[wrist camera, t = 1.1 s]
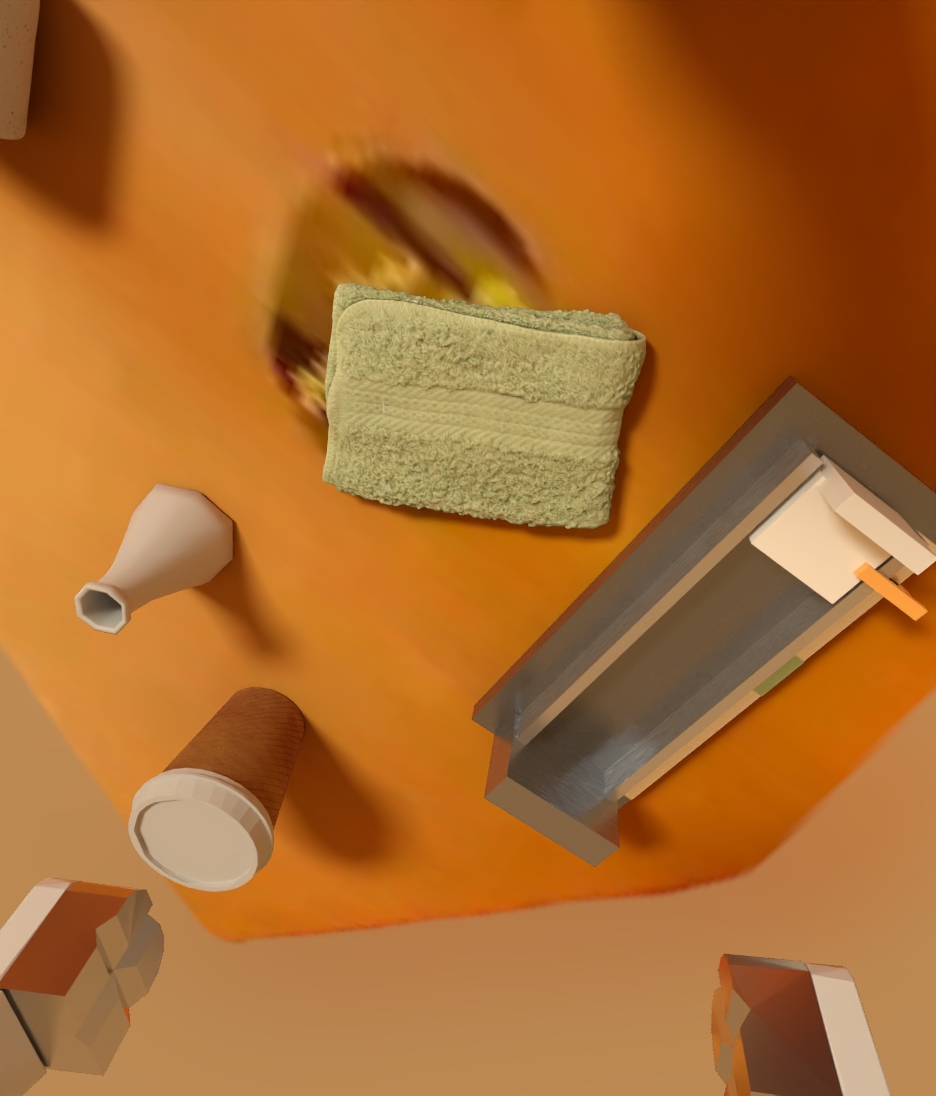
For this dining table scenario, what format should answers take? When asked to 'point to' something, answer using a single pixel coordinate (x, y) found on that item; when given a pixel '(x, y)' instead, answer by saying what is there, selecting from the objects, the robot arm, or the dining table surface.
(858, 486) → the cream corner bracket
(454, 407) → the washcloth
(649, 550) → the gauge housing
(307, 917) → the dining table surface
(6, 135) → the ceramic mug
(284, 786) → the disposable coffee cup
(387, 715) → the dining table surface
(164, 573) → the flask
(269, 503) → the dining table surface
